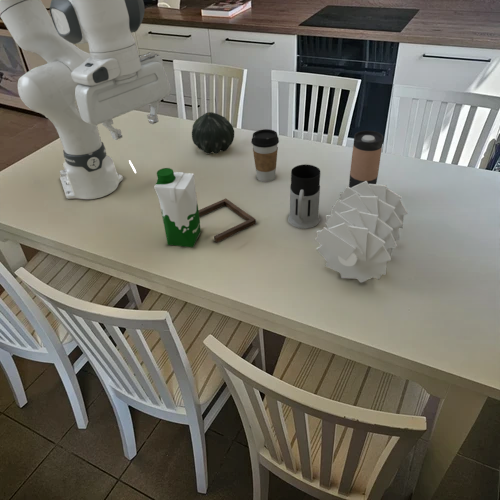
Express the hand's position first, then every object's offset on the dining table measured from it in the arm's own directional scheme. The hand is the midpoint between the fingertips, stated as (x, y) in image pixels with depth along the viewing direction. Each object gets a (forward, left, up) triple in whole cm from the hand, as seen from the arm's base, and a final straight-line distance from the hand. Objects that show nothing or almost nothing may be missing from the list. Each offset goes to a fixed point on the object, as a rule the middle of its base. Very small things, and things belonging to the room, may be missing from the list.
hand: (136, 130), depth 96 cm
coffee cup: (-12, +44, -33) cm, 57 cm away
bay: (-1, +19, -33) cm, 38 cm away
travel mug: (+17, +56, -33) cm, 68 cm away
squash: (-40, +43, -33) cm, 68 cm away
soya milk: (-1, +7, -33) cm, 34 cm away
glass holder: (+15, +35, -33) cm, 51 cm away
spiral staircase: (+34, +36, -33) cm, 60 cm away
